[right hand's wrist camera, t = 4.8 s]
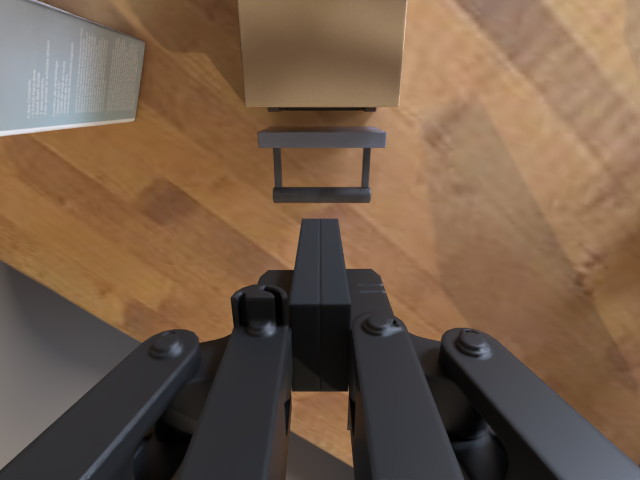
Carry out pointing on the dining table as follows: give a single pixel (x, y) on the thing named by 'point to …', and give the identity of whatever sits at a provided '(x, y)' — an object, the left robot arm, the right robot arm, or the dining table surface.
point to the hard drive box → (64, 70)
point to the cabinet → (322, 52)
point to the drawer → (321, 139)
